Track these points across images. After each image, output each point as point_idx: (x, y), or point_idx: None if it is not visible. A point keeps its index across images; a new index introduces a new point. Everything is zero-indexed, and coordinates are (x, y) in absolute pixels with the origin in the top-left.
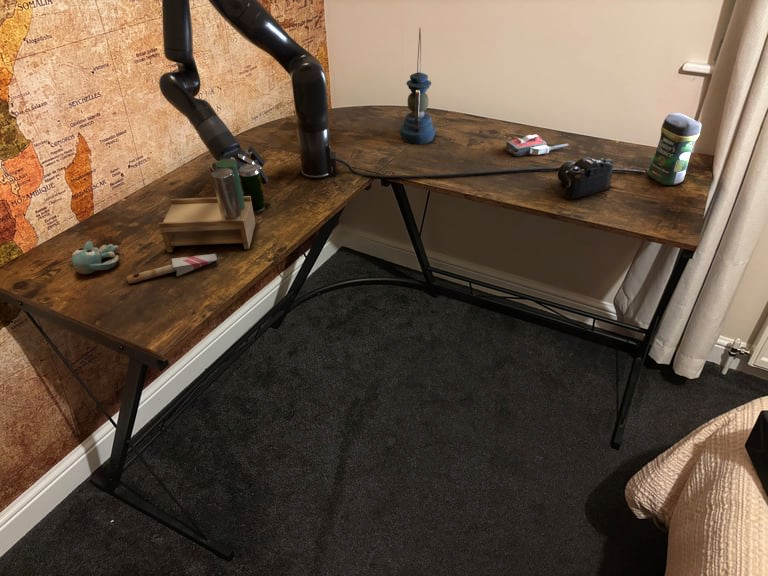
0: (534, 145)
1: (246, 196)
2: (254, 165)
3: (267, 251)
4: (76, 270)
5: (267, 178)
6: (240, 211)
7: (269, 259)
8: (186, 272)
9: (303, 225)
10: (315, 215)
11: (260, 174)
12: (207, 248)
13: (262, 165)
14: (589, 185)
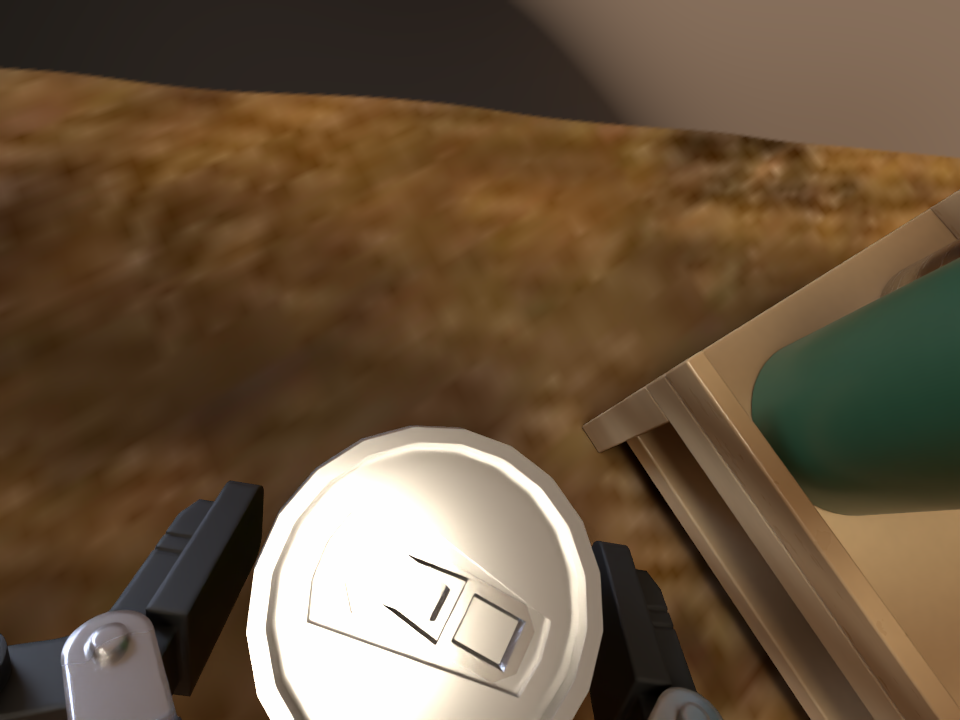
0: None
1: (716, 388)
2: (272, 587)
3: (753, 199)
4: None
5: (195, 505)
6: (949, 244)
7: (792, 158)
8: None
9: (453, 157)
10: (319, 146)
11: (217, 574)
12: None
13: (5, 658)
14: None
